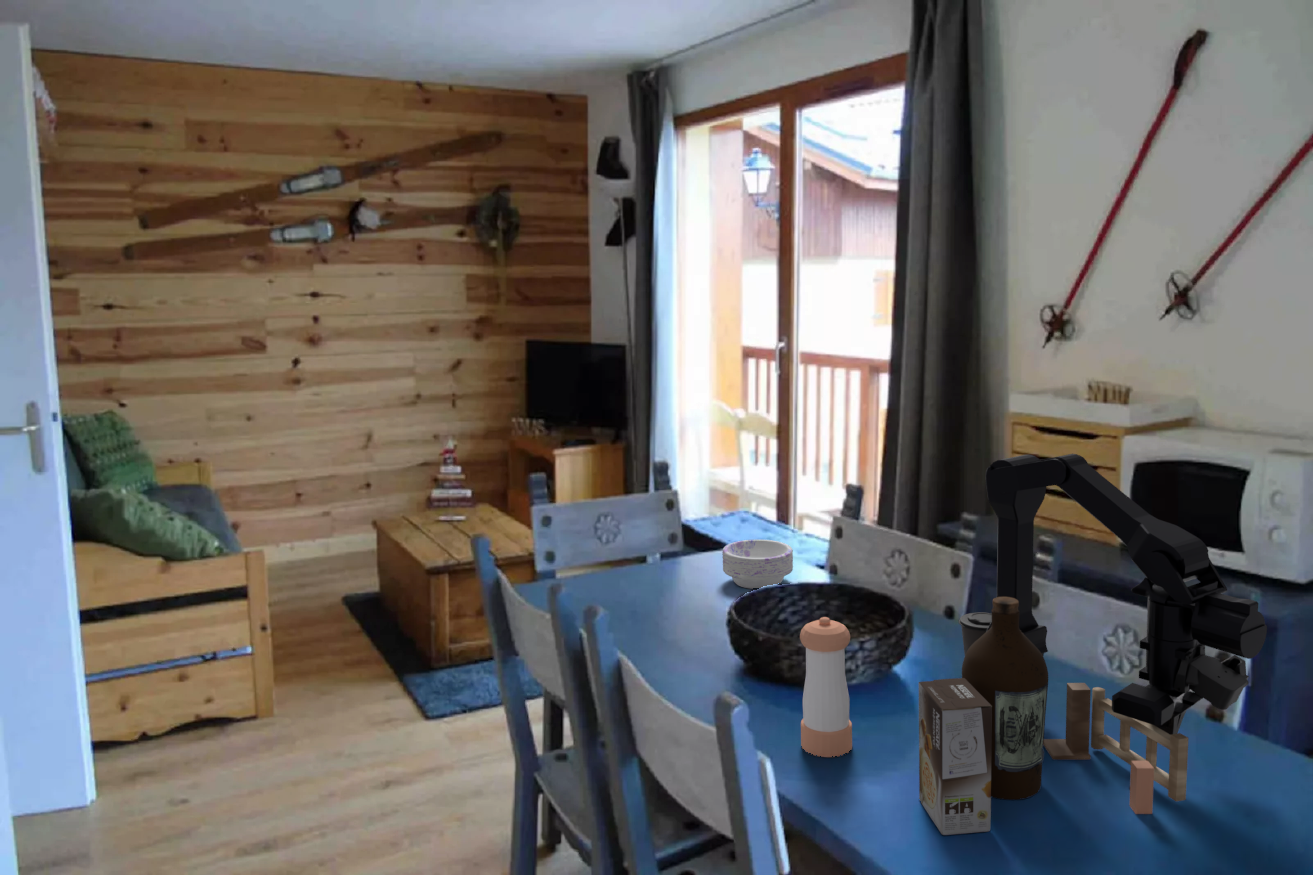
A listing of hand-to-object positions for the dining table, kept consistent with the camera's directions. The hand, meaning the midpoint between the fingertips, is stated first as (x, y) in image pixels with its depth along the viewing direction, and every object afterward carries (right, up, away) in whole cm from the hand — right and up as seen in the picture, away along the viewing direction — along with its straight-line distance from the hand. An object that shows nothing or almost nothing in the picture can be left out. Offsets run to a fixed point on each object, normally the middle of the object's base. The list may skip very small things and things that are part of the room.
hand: (1167, 747), depth 135 cm
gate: (-3, -4, +2) cm, 5 cm away
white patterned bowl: (-44, +8, +92) cm, 102 cm away
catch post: (-6, -6, -6) cm, 11 cm away
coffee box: (-29, -7, -5) cm, 31 cm away
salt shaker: (-42, -4, +14) cm, 44 cm away
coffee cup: (-12, +1, +38) cm, 40 cm away
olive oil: (-21, -5, +2) cm, 22 cm away
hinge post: (-9, -3, +10) cm, 14 cm away
